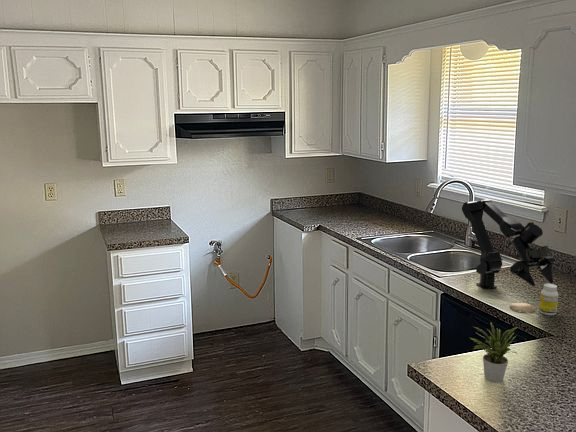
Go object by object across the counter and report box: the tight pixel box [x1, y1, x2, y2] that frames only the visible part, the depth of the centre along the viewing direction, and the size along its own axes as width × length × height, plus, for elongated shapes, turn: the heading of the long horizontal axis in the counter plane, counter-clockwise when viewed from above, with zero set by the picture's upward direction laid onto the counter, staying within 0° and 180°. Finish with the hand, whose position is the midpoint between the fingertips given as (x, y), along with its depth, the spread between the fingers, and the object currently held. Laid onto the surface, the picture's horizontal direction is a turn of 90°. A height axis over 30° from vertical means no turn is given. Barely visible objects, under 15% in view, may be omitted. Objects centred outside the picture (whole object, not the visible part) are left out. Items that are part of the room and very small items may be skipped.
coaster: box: [509, 302, 536, 313], centre depth 229 cm, size 9×9×1 cm
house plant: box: [469, 321, 519, 383], centre depth 173 cm, size 14×14×16 cm
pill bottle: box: [538, 283, 559, 316], centre depth 224 cm, size 6×6×11 cm
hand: (543, 284), depth 226 cm, fingers open, 9 cm apart
